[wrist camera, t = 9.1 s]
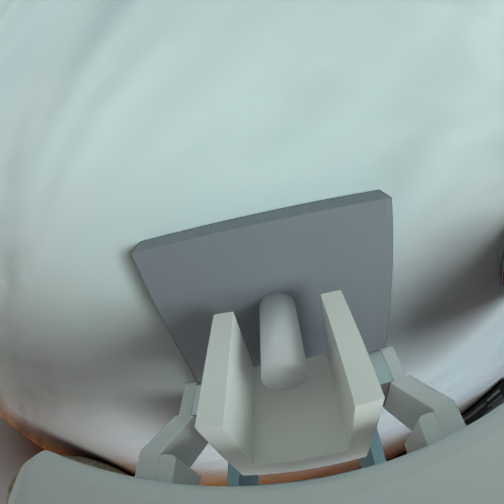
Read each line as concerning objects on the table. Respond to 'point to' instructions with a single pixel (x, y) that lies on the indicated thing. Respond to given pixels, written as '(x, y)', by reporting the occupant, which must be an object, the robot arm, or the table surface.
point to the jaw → (290, 400)
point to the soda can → (503, 272)
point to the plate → (275, 280)
